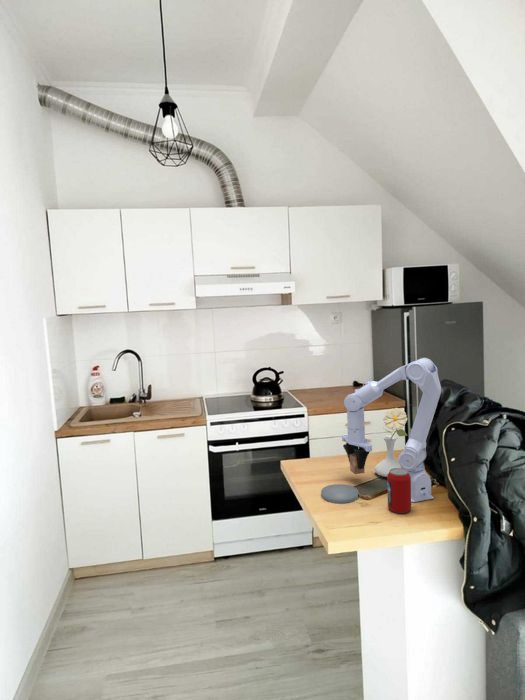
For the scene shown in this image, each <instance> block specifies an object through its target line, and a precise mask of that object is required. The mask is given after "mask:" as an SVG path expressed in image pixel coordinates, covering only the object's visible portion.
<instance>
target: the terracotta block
mask: <svg viewBox="0 0 525 700" xmlns="http://www.w3.org/2000/svg"><path fill="white" fill-rule="evenodd" d="M349 471H350V472H351V473H352V474H353V475H359V474H365V467H364V468H362V469H358V466H357V458H356V455H355V453H354V454H350V462H349Z"/></svg>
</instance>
